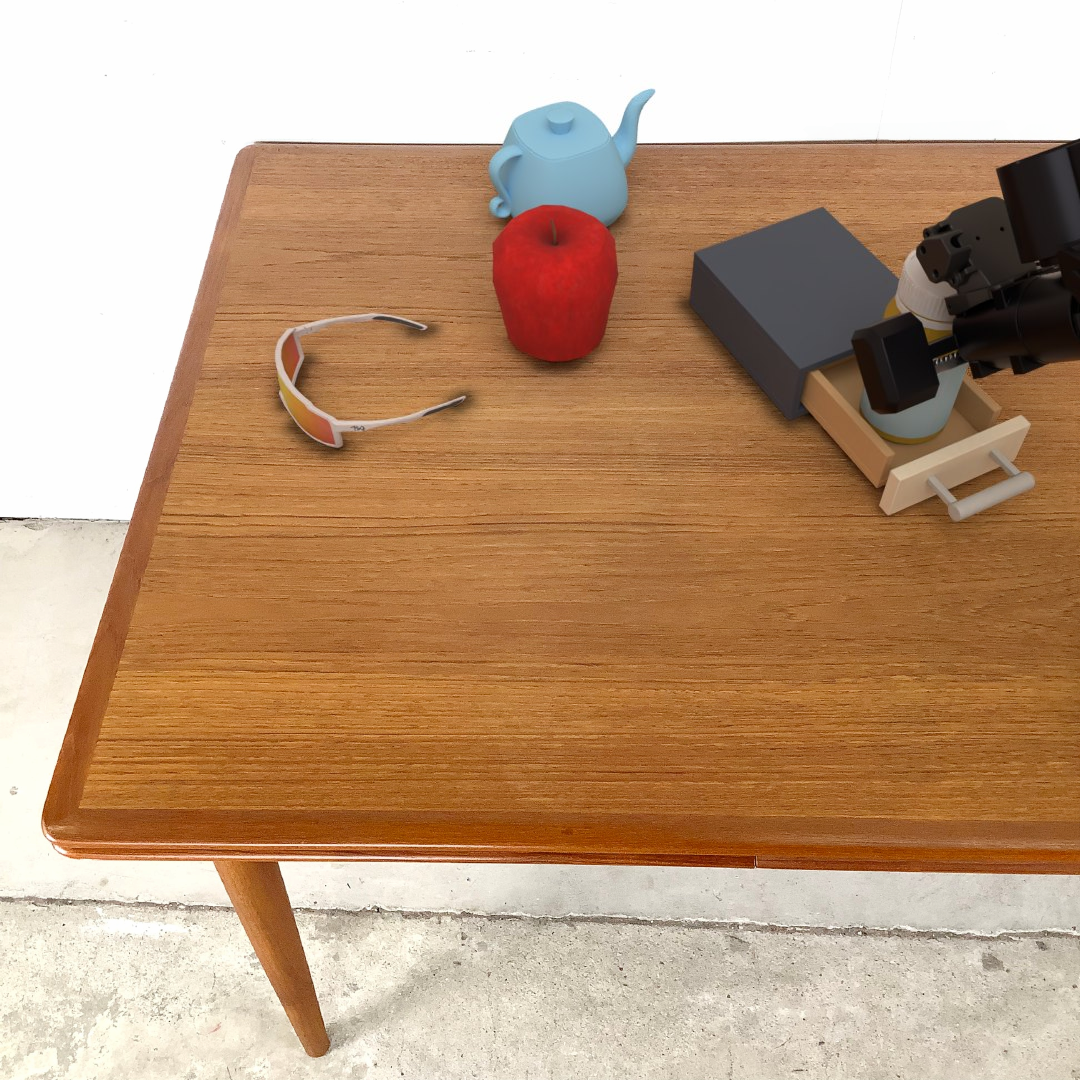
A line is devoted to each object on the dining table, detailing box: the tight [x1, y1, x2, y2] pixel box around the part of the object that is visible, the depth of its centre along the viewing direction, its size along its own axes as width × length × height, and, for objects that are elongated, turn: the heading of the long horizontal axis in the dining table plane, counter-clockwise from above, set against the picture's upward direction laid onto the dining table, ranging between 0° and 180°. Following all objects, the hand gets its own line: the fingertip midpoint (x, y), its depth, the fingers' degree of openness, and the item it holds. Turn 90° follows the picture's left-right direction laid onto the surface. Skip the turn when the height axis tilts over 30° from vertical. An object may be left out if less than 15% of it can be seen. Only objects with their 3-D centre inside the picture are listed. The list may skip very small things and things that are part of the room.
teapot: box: [488, 88, 656, 228], centre depth 109 cm, size 13×11×18 cm
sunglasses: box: [274, 312, 467, 449], centre depth 98 cm, size 14×15×5 cm
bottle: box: [859, 248, 969, 445], centre depth 86 cm, size 7×7×15 cm
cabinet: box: [688, 206, 900, 422], centre depth 99 cm, size 17×14×6 cm
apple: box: [491, 205, 619, 363], centre depth 96 cm, size 11×10×14 cm
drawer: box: [800, 354, 1036, 523], centre depth 90 cm, size 20×12×4 cm, turn 26°
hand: (908, 341), depth 87 cm, fingers open, 8 cm apart
